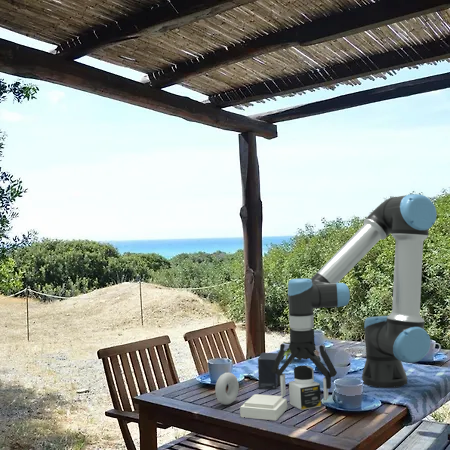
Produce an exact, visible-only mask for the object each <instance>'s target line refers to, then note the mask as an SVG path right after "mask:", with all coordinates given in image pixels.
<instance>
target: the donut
mask: <svg viewBox="0 0 450 450" xmlns="http://www.w3.org/2000/svg"><path fill="white" fill-rule="evenodd" d="M227 386H228V388H227ZM239 389H240V385H239V381H238V377H237V376H236V375H235V374H234V373H232V372H224V373H222V374H220V376H219V377H218V378H217V380H216V383H215V391H214V392H215V397H216V399H217V401H218V402H219V403H220V404H222V405H225V406H227V405H231V404H232V403H234V402H235V400H236V399H237V396H238V393H239Z"/></svg>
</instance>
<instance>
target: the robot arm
mask: <svg viewBox="0 0 450 450" xmlns="http://www.w3.org/2000/svg"><path fill="white" fill-rule="evenodd" d="M436 221H437V208H436V206H435V203H434V202H432V200H431V199H429V197H427V196H426V195H423V194H418V193H417V194H416V193H415V194H414V193H412V194H411V193H410V194H406V195H400V196H399V195H398V196H392V197H390V198H387V199H385V200H384V201H383V202H381V203H380V204H379V205H378V206H377V207H376V208H375V209H374V210H372V211H371V212H370V213H369V215H368V216H367V217H366V218H365V219H364V220H363V225H362V226H361V227H360V228H359V229H358V230H357V231H356V232H355V233H354V234H353V235H352V236H351V237H350V238H349V239H348V240H347V242H346V243H345V244H344V245H342V246H341V247H340V249H339V250H338V251H336V252H335V254H334V255H333V256H332V257H331V258H330V259H329V260H327V262H326V263H325V264H324V265H323V266H321V268H320V269H319V270H318V271H317V272H316V273H314V275H313V276H312V277H311V278H306V277H305V278H292V279H290V280H288V283H287V284H288V285H287V297H288V298H287V299H288V311H289V312H288V317H289V318H288V321H289V323H288V324H289V328H290V329H289V342H290V344H286V343H283V342H282V343H281V344H280V346H279V350H280V352H279V351H278V352H279V354H278V356H277V359H276V361H275V363H274V365H273V367H272V370H271V372H272V373H276V374H277V380H278V385H277V386H280V396H282V397H284V398H285V396H286V395H287V391H286V387H287V386H286V373H283V372H285V370H286V369H287V368H288V367H289V365H291V364H292V362H293V360H294V359H297V360H299V359H301V360H308V359H309V360H310V361H311V362H312V363H313V364H314V365H315V366H316V367H317V369H318V370H319V371H320V373H321V374H322V375H323V376H324V377H323V378H322V380H323V381H322V382H323V383H322V384H323V400H324V401H327V400H328V399H329V390H330V389H331V388H332V378H334V377H335V376H337V375H338V372H337V370H336V368H335V367H334V364H333V362H332V360H331V359H330V357H329V355H328V352H327V351H326V350H327V349H326V345H325V344H323V343H322V344H319V345H316V344H315V329H314V327H315V325H314V324H315V323H314V322H315V321H314V309H322V308H323V309H324V308H339V307H346V306H348V304H349V302H350V299H351V295H350V288H349V287H348V285H347V283H344V282H340V281H341V280H342V279H343V278H344V277H345V276H346V275H347V274H348V273H349V272H351V270H352V269H353V268H354V267H355V266H356V265H357V264H358V263H359V262H360V261H361V260H362V259H363V258H364V257H365V256H366V255H367V254H368V253H369V252H370V251H371V249H372V248H373V247H375V245H376V244H378V242H379V241H380V240H385V239H386V238H387V237H388V236H390V235H391V237H392V238H393V239H394V241H395V249H394V251H395V252H394V265H393V266H394V269H393V270H394V271H393V286H392V287H393V288H392V304H391V305H392V306H391V307H392V308H391V313H390V314H389V315H380V316H379V315H377V316H368V317H366V318H365V319H364V327H363V328H364V340H365V342H364V343H365V358H366V360H365V363H364V367H363V371H362V374H361V381H362V380H363V381H364V383H363V384H364V385H366V386H369V387H375V388H384V389H385V388H386V389H387V388H388V389H390V388H391V389H392V388H400V387H403V386H405V385H408V377H407V373H406V370H405V368H404V366H403V363H402V362H404V363H405V362H406V363H409V364H411V363H418V362H419V361H421V360H423V359H424V358H425V357H426V356H427V355H428V353H429V352H430V348H431V345H432V344H431V337H430V334H429V333H428V332H427V331H426V330H425V319H424V318H423V317H422V316H421V313H420V312H421V296H422V295H421V294H422V293H421V292H422V274H423V273H422V270H423V251H424V248H423V247H424V241H425V240H427V238H429V230H430V228H432V227H433V225H434V224H436V223H435V222H436ZM288 348H289V349H290V351H291V352H292V354H290V355H289V356H288V359H287V360H286V359H285V362H284V363H283V364H282V366H281V367H280V365H281V362H282V361H283V360H282V358H283V356H284V353H285V351H287V349H288ZM315 351H317V352H318V353H320V356H321V358H322V360H323V362H322V361H321V360H320V359H319V358H318V356H317V355H316V353H315ZM284 357H285V356H284ZM283 359H284V358H283ZM281 360H282V361H281ZM291 361H292V362H291ZM290 363H291V364H290ZM323 363H325V365H324V364H323ZM278 367H279V369H278Z"/></svg>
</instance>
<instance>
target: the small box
mask: <svg viewBox="0 0 450 450" xmlns="http://www.w3.org/2000/svg"><path fill="white" fill-rule="evenodd" d="M277 356H278V352H261V353H260V355H259V357H258V359H257V369H258V371H257V373H258V389H259V390H261V389H264V390H267V389H268V390H276V389H277V387H278V386H279V385H278V380H277V374H276V373H272V372H271V370H272V367H273V365H274V363H275V361H276V359H277ZM278 369H280V366H279V367H278Z"/></svg>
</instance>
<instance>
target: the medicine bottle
mask: <svg viewBox="0 0 450 450" xmlns="http://www.w3.org/2000/svg"><path fill="white" fill-rule="evenodd" d="M293 372H294V373H293V376H294V378H293V380H291V381H289V382H288V387H289V389H288V390H289V392H288V393H289V395H288V396H289V404H290V405H291V406H293V407H294V408H296V409H298V410H300V411H304V410H311V409H316V408H320V407H322V401H321V399H322V398H321V384H320V383H319V382H317V381H315V377H314V374H315V373H314V368H313V366H310V365H298V366H295V367H294V368H293Z"/></svg>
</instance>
